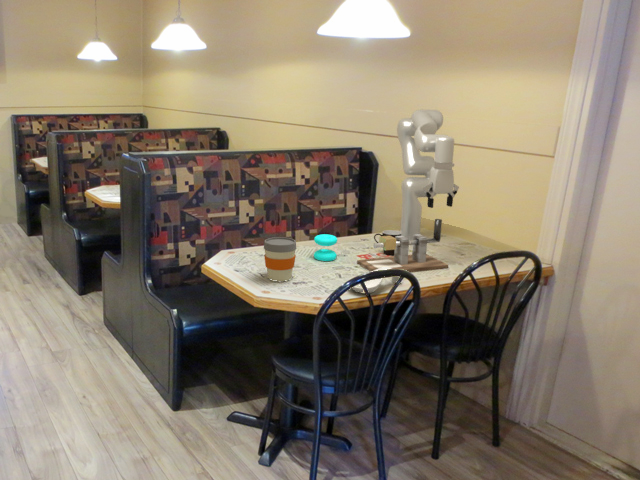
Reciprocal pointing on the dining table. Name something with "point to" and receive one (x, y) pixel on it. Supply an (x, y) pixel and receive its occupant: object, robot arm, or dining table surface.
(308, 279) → the dining table surface
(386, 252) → the coffee mug
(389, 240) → the block
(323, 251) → the turquoise hourglass
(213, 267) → the dining table surface
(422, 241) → the wooden base with brackets
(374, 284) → the spoon rest
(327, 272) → the dining table surface
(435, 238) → the shaft
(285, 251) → the reusable coffee cup
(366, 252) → the dining table surface
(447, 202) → the robot arm
